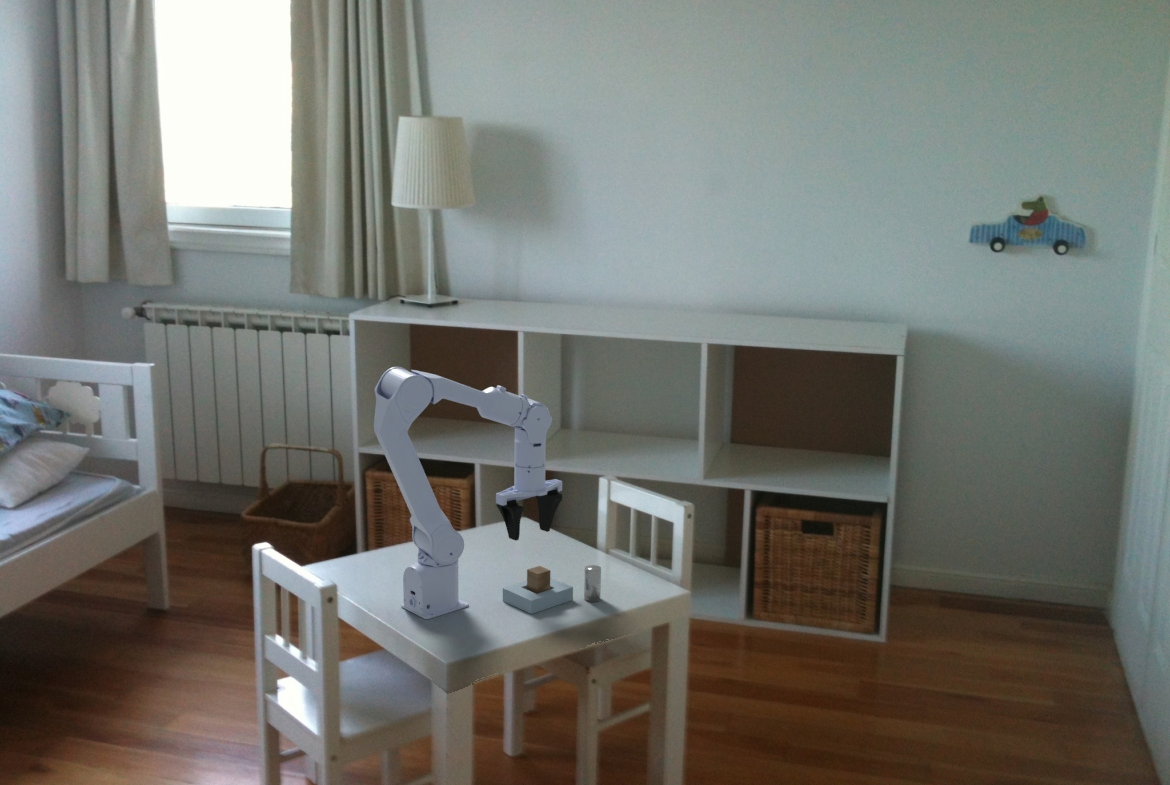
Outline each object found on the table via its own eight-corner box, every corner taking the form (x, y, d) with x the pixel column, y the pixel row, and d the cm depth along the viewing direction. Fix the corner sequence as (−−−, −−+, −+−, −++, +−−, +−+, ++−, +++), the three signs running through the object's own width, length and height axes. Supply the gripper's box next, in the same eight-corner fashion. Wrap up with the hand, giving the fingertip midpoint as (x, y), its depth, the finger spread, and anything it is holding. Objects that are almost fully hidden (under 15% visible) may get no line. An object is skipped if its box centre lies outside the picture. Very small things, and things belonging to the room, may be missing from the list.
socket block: (531, 614, 201) (531, 600, 201) (502, 600, 207) (502, 588, 206) (572, 599, 208) (573, 587, 207) (544, 587, 213) (544, 575, 213)
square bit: (537, 605, 205) (537, 574, 204) (526, 600, 207) (527, 569, 206) (550, 601, 207) (550, 570, 206) (539, 596, 209) (540, 565, 208)
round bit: (592, 603, 206) (593, 572, 205) (580, 598, 208) (581, 567, 207) (603, 599, 208) (604, 568, 207) (592, 594, 210) (592, 564, 209)
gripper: (513, 475, 201) (513, 548, 204) (573, 461, 211) (572, 531, 213) (488, 467, 206) (488, 538, 209) (548, 454, 216) (547, 522, 218)
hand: (529, 534), depth 211 cm, fingers open, 7 cm apart
